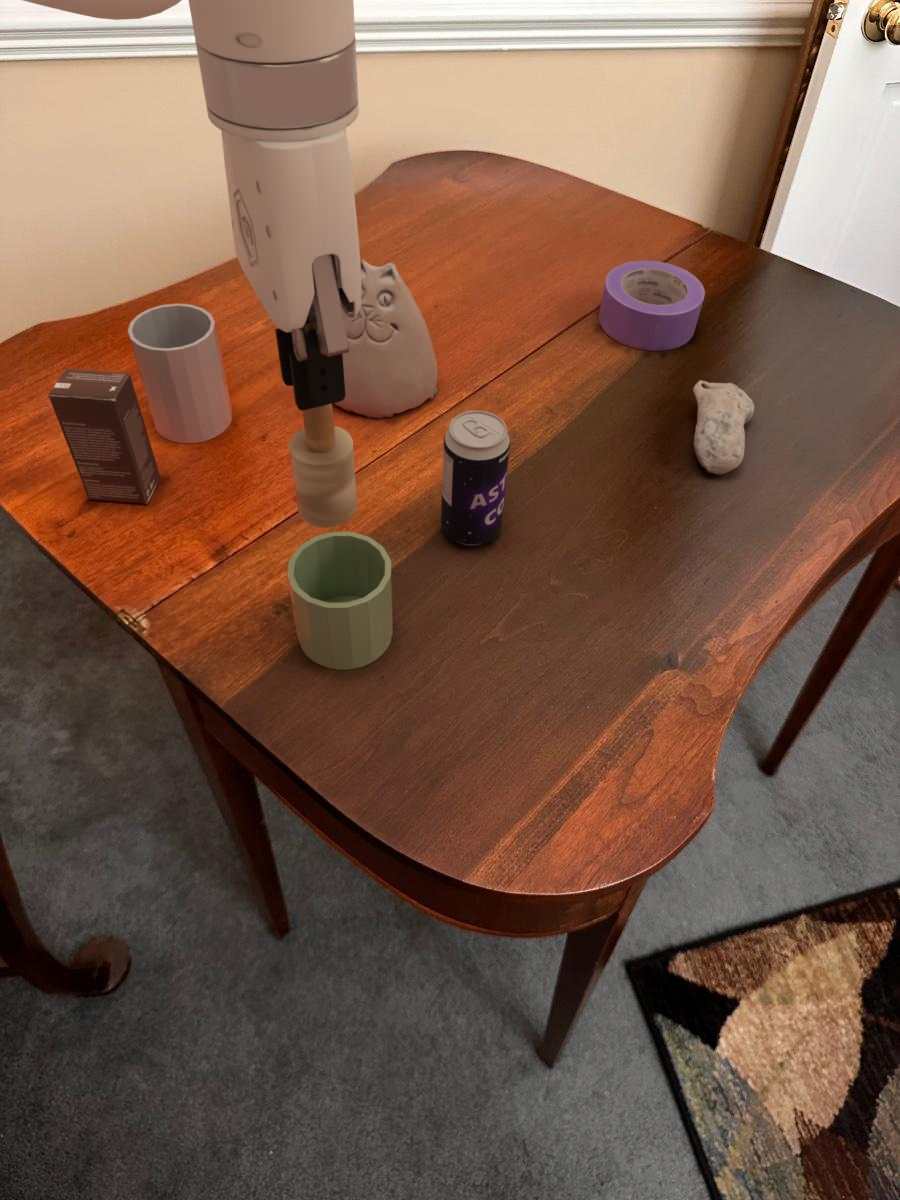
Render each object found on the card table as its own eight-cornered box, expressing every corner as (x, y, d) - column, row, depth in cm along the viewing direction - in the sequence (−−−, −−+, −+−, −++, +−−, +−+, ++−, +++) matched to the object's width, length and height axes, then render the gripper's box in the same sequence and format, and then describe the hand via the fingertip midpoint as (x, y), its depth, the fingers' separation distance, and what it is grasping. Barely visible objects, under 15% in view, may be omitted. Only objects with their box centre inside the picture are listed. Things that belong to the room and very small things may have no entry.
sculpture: (335, 430, 91) (324, 300, 79) (308, 367, 98) (294, 239, 86) (451, 407, 94) (456, 279, 83) (416, 347, 101) (416, 221, 90)
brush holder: (315, 682, 70) (306, 620, 64) (285, 612, 75) (274, 547, 69) (407, 651, 72) (406, 588, 66) (372, 585, 77) (369, 520, 71)
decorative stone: (755, 486, 87) (771, 447, 83) (688, 478, 88) (701, 438, 84) (746, 406, 96) (761, 367, 92) (685, 399, 96) (697, 360, 92)
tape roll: (697, 355, 102) (708, 317, 98) (598, 346, 103) (605, 308, 99) (691, 302, 110) (701, 264, 106) (598, 293, 110) (605, 256, 106)
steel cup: (163, 451, 88) (137, 358, 79) (147, 405, 93) (120, 312, 84) (241, 432, 90) (223, 340, 82) (221, 388, 95) (202, 296, 86)
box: (162, 474, 86) (131, 371, 76) (147, 506, 83) (114, 402, 73) (102, 469, 86) (64, 365, 77) (85, 500, 83) (44, 396, 74)
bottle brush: (308, 534, 63) (283, 340, 50) (290, 496, 65) (261, 302, 53) (366, 518, 64) (354, 324, 52) (345, 480, 66) (329, 288, 54)
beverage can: (467, 560, 79) (474, 459, 70) (428, 525, 82) (430, 424, 73) (512, 533, 82) (525, 432, 73) (473, 500, 85) (481, 399, 75)
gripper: (167, 35, 46) (224, 339, 60) (251, 157, 37) (296, 482, 51) (302, 20, 48) (327, 317, 62) (414, 131, 39) (414, 450, 53)
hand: (313, 389), depth 56 cm, fingers closed on bottle brush, 2 cm apart
